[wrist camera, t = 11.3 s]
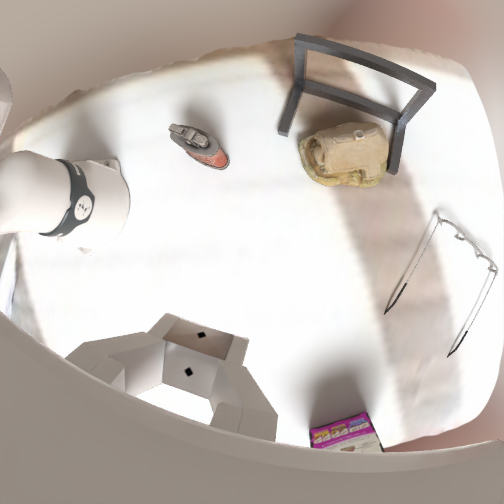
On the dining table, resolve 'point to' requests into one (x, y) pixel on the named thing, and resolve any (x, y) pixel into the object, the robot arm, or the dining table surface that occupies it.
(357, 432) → the candy bar box
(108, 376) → the robot arm
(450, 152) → the dining table surface
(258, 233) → the dining table surface
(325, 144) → the ceramic model
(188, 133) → the lighter
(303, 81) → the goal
